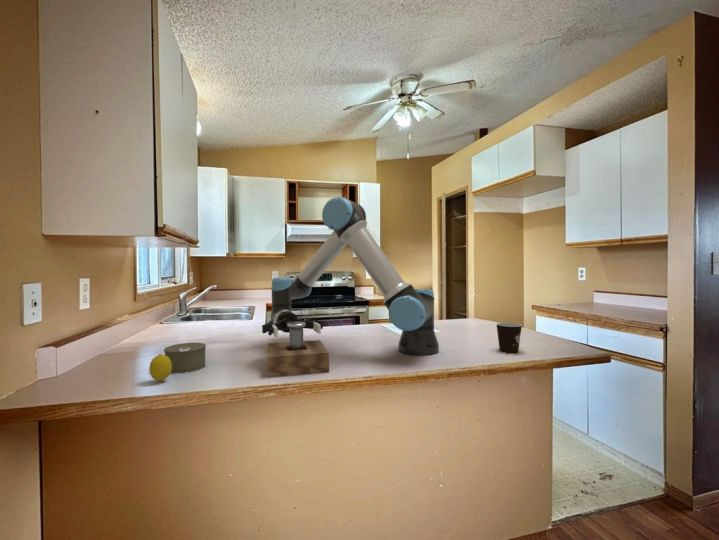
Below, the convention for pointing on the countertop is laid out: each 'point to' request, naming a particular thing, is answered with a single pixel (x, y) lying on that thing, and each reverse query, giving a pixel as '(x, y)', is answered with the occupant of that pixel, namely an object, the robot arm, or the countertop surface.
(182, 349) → the can
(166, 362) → the lemon
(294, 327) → the pin
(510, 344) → the coffee mug
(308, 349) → the block
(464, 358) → the countertop surface
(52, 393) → the countertop surface
